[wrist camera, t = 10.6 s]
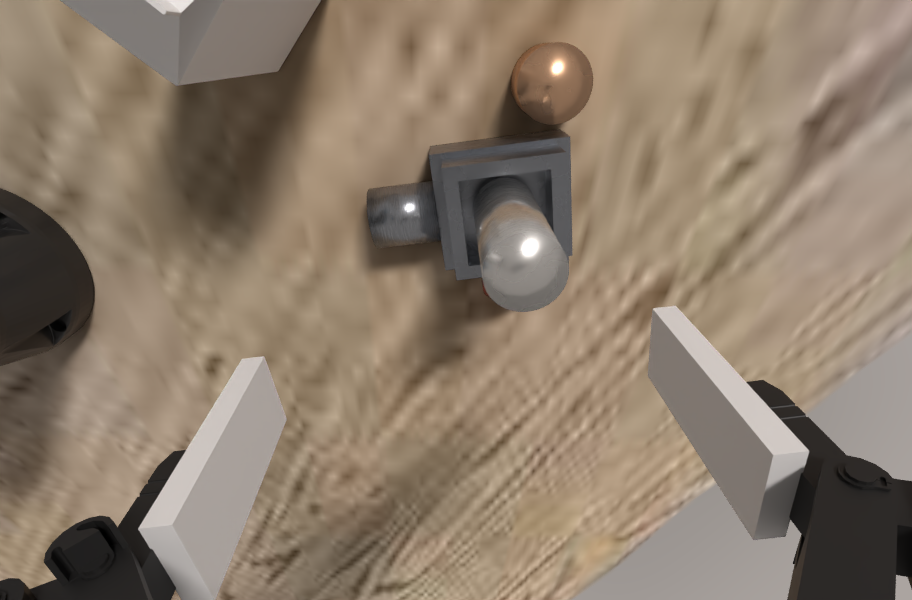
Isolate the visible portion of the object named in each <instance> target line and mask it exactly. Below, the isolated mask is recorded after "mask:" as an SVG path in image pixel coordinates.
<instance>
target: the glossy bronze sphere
mask: <svg viewBox="0 0 912 600" xmlns="http://www.w3.org/2000/svg"><path fill="white" fill-rule="evenodd" d="M592 86H593V73H592V68H591V65H590V63H589V61H588V59H587V57H586V56H585V55H584V54H583V52H582V51H580V50H579V49H578V48H576V47H575V46H573V45H570V44H567V43H561V42H555V43H542V44H538V45H535V46H533V47H531V48H530V49H528V50H527V51H526V52H524V53H523V54H522V55H521V57H520V58H519V59H518V61H517V62H516V64H515V66H514V69H513V72H512V77H511V89H512V94H513V97H514V99H515V101H516V103H517V104H518V106H519V107H520V108H521V109H522V110H523V111H524V112H525V113H527V114H528V115H529V116H530V117H531V118H533V119H534V120H536V121H538V122H540V123H544V124H551V125H552V124H560V123H563V122H566V121H568V120H570V119H572V118H573V117H575V116H576V115H577V114H578V113H579V112H580V111H581V110H582V109H583V108H584V106H585V105H586V103H587V102H588V100H589V97H590V95H591V91H592Z"/></svg>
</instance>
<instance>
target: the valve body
mask: <svg viewBox="0 0 912 600" xmlns="http://www.w3.org/2000/svg"><path fill="white" fill-rule="evenodd" d="M429 160H430V167H431V174H432V181H427V182H419V183H411V184H404V185H396V186H388V187H380V188H372V189H368V192H367V214H368V221H369V227H370V231H371V235H372V239H373V242H374V244H375V246H376V247H377V248H386V247H394V246H403V245H411V244H419V243H427V242H436V241H441V243H442V249H443V256H444V263H445V270H453V269H455V272H456V280H464V279H472V278H481V277H482V272H481V265H480V257H479V250H478V243H477V235H476V228H475V220H474V213H473V206H474V201H475V198H476V196H477V194H478V192H479V191H480V189H481V188H482V187H483V186H484V185H486V184H487V183H489V182H490V181H492V180H495V179H498V178H513V179H516V180H518V181H520V182H522V183H523V184H525V185H526V186H527V187H528V188H529V190H530V191H531V193H532V195H533V196H534V198H535V200H536V202H537V204H538V205H539V207H540V209H541V211H542V213H543V214H544V216H545V218H546V220H547V222H548V223H549V225H550V227H551V229H552V231H553V233H554V234H555V236H556V238H557V240H558V242H559V243H560V245H561V247H562V249H563V251H564V252H565V254H566V257H567V260H568V265H569V256H571V255H572V211H571V160H570V136H569V135H567V134H566V133H565V132H563V131H562V130H561V129H558V130H550V131H543V132H535V133H527V134H519V135H512V136H504V137H496V138H489V139H481V140H473V141H466V142H458V143H450V144H443V145H435V146H430V151H429ZM482 284H483V280H482ZM483 291H484V293H485V294H486V295H487V296H488V297H490V296H489V295H488V293H487V292H486V290H485V287H484V284H483Z"/></svg>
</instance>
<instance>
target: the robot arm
mask: <svg viewBox="0 0 912 600" xmlns="http://www.w3.org/2000/svg"><path fill="white" fill-rule="evenodd" d="M93 297H94V290H93V282H92V277H91V274H90V271H89V268H88V265H87V263H86V261H85V259H84V257H83V255H82V253H81V252H80V250H79V248H78V247H77V245H76V244H75V243H74V241H73V240H72V239H71V237H70V236H69V235H68V234H67V233H66V232H65V231H64V229H63V228H62V227H61V226H60V225H59V224H58V223H57V222H55V221H54V220H53V219H52V218H51V217H50V216H48V215H47V214H46V213H45V212H43V211H42V210H41V209H39V208H38V207H36V206H35V205H33V204H32V203H30V202H28V201H27V200H25V199H23V198H21V197H19V196H17V195H15V194H13V193H11V192H8V191H6V190H3V189H0V366H2V365H5V364H8V363H11V362H15V361H18V360H21V359H24V358H27V357H31V356H34V355H37V354H40V353H43V352H46V351H48V350H50V349H52V348H54V347H56V346H57V345H59V344H61V343H62V342H63V341H64V340H66V339H67V338H68V337H70V336H71V335H72V334H74V333H75V332H76V331H78V330H79V329H80V328H81V327H82V326H83V324H84V323H85V322H86V320H87V318H88V317H89V315H90V312H91V309H92V305H93ZM648 377H649V378H650V380H651V382H652V383H653V385H654V386H655V388H656V389H657V391H658V392H659V394H660V396H661V397H662V399H663V400H664V402H665V403H666V405H667V406H668V408H669V410H670V411H671V413H672V414H673V416H674V417H675V419H676V420H677V422H678V424H679V425H680V427H681V428H682V430H683V431H684V433H685V434H686V436H687V438H688V439H689V441H690V442H691V444H692V445H693V447H694V449H695V450H696V452H697V453H698V455H699V456H700V458H701V459H702V461H703V463H704V464H705V466H706V467H707V469H708V470H709V472H710V473H711V475H712V477H713V478H714V480H715V481H716V483H717V484H718V486H719V487H720V489H721V490H722V492H723V494H724V495H725V497H726V498H727V500H728V501H729V503H730V505H731V506H732V508H733V509H734V511H735V512H736V514H737V515H738V517H739V519H740V520H741V522H742V523H743V524H744V526H745V528H746V529H747V531H748V533H749V534H750V536H751V537H752V539H753V540H758V539H767V538H775V537H785V536H786V533H787V529H788V526H789V522H790V519H791V520H792V522H793V523H794V524H795V526H796V527H797V528H798V530H799V531H800V532H801V534H802V535H801V538H800V541H799V544H798V548H797V551H796V554H795V558H794V561H793V564H795V565H794V570H793V575H792V580H791V585H790V589H789V594H788V599H787V600H895V584H896V575H900V576H906V577H908V579H909V582H910V585H911V588H912V481H905V480H898V479H893V478H892V477H891V476H890V475H889V474H888V473H887V472H886V471H885V470H883V469H882V468H880V467H878V466H877V465H876V464H873V463H871V462H868V461H866V460H864V459H861V458H857V457H851V456H847V455H845V453H844V452H843V451H842V450H841V449H840V448H839V447H838V446H837V445H836V444H835V443H834V442H833V441H832V440H831V439H830V438H829V437H827V435H826V434H825V433H824V432H823V431H822V430H821V429H820V428H819V427H818V426H816V424H815V423H814V422H813V421H812V420H811V419H810V418H809V417H806V416H805V413H804V412H803V411H802V410H801V409H800V408H799V407H798V406H795V403H794V402H793V401H792V400H791V399H790V398H789V397H788V396H787V395H786V394H785V393H784V392H783V391H781V390H780V389H778V388H776V387H774V386H773V385H771V384H769V383H767V382H765V381H764V380H759V381H751V382H745V381H744V379H743V378H742V377H741V376H740V375H739V374H738V373H737V372H736V371H735V370H734V369H733V367H732V366H731V365H730V364H729V363H728V362H727V361H726V360H725V359H724V358H723V357H722V356H721V354H720V353H719V352H718V351H717V350H716V349H715V348H714V347H713V346H712V345H711V344H710V343H709V341H708V340H707V339H706V338H705V337H704V336H703V335H702V334H701V333H700V332H699V331H698V329H697V328H696V327H695V326H694V325H693V324H692V323H691V322H690V321H689V320H688V319H687V318H686V316H685V315H684V314H683V313H682V312H681V311H680V310H679V309H678V308H677V307H676V306H669V307H661V308H653V309H652V323H651V337H650V351H649V366H648ZM286 420H287V418H286V416H285V413H284V410H283V407H282V404H281V402H280V399H279V396H278V393H277V390H276V388H275V385H274V382H273V379H272V376H271V374H270V371H269V368H268V365H267V362H266V360H265V357H264V356H262V357H254V358H246V359H242V360H241V362H240V363H239V365H238V366H237V368H236V370H235V371H234V373H233V375H232V376H231V378H230V379H229V381H228V383H227V384H226V386H225V388H224V389H223V391H222V393H221V394H220V396H219V397H218V399H217V401H216V402H215V404H214V406H213V407H212V409H211V411H210V412H209V414H208V415H207V417H206V419H205V420H204V422H203V424H202V425H201V427H200V428H199V430H198V432H197V433H196V435H195V437H194V438H193V440H192V442H191V443H190V445H189V446H188V448H187V450H182V451H174V452H173V453H172V454H171V455H169V456H168V457H167V458H166V459H165V460H164V461H163V462H162V463H161V464H160V465H158V467H157V468H156V470H155V471H154V473H153V474H152V476H151V477H150V479H149V480H148V484H146V485H145V486H144V488H143V489H142V491H141V493H140V497H137V499H136V500H135V502H134V503H133V505H132V506H131V508H130V509H129V511H128V512H127V514H126V515H125V517H124V518H123V520H122V521H121V523H120V525H119V526H118V528H117V526H116V525H115V523H114V522H113V521H112V519H111V518H110V517H106V516H97V517H92V518H88V519H86V520H83V521H81V522H79V523H77V524H75V525H73V526H72V527H70V528H69V529H67V530H66V531H64V532H63V533H62V534H61V535H60V536H59V537H58V538H57V539H56V540H55V541H54V542H52V544H51V545H50V547H49V549H48V550H47V552H46V553H45V559H44V563H45V564H46V566H47V567H48V568H49V569H50V571H51V572H52V573H53V575H54V576H55V577H56V578H57V579H56V580H53V581H50V582H48V583H45V584H42V585H40V586H37V587H35V588H32V589H29V588H28V587H27V586H26V585H25V583H24V582H22V581H21V580H20V579H15V578H8V579H5V580H2V581H0V600H171V598H172V596H173V594H174V592H175V590H176V591H177V593H178V595H179V596H180V598H181V599H182V600H216V597H217V595H218V592H219V589H220V587H221V584H222V582H223V579H224V577H225V574H226V572H227V569H228V567H229V564H230V562H231V559H232V557H233V554H234V551H235V549H236V546H237V544H238V541H239V539H240V536H241V534H242V531H243V529H244V526H245V524H246V521H247V519H248V516H249V513H250V511H251V508H252V506H253V503H254V501H255V498H256V496H257V493H258V491H259V488H260V486H261V483H262V481H263V478H264V475H265V473H266V470H267V468H268V465H269V463H270V460H271V458H272V455H273V453H274V450H275V448H276V445H277V443H278V440H279V437H280V435H281V432H282V430H283V427H284V425H285V422H286Z"/></svg>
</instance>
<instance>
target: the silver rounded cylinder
mask: <svg viewBox="0 0 912 600" xmlns="http://www.w3.org/2000/svg"><path fill="white" fill-rule="evenodd" d="M473 213H474V220H475V228H476V235H477V243H478V250H479V257H480V265H481V272H482V279H483V284H484V287H485V290H486V292H487V293H488V295H489V296H490V298H491V299H492V300H493V301H494V302H496V303H497V304H498V305H500V306H501V307H503V308H506V309H508V310H512V311H517V312H528V311H534V310H537V309H540V308H542V307H545V306H546V305H548V304H550V303H551V302H552V301H554V300H555V299H556V298H557V297H558V296H559V295H560V293H561V292H562V290H563V289H564V287H565V285H566V282H567V279H568V275H569V265H568V260H567V257H566V254H565V252H564V251H563V249H562V247H561V245H560V243H559V242H558V240H557V238H556V236H555V234H554V233H553V231H552V229H551V227H550V225H549V223H548V222H547V220H546V218H545V216H544V214H543V213H542V211H541V209H540V207H539V205H538V204H537V202H536V200H535V198H534V196H533V195H532V193H531V191H530V190H529V188H528V187H527V186H526V185H525V184H523V183H522V182H520V181H518V180H516V179H513V178H498V179H495V180H492V181H490V182H489V183H487V184H486V185H484V186H483V187H482V188H481V189H480V191H479V192H478V194H477V196H476V198H475V201H474V206H473Z"/></svg>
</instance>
